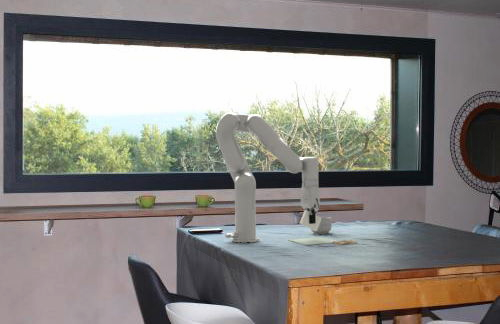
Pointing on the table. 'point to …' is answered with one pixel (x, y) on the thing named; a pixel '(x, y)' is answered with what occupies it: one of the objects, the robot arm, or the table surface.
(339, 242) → the holder
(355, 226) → the table surface
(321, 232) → the teacup
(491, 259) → the table surface
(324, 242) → the mat
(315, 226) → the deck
